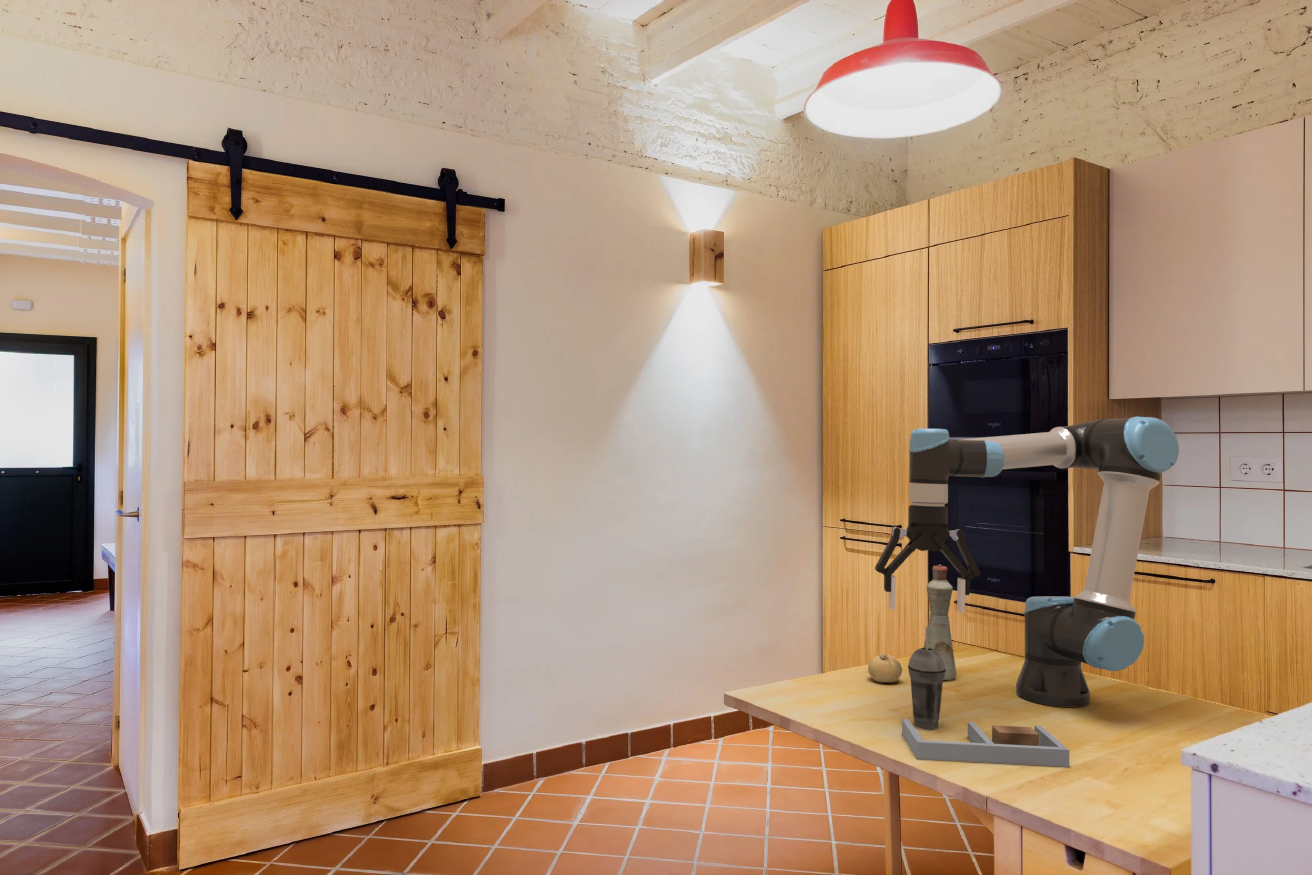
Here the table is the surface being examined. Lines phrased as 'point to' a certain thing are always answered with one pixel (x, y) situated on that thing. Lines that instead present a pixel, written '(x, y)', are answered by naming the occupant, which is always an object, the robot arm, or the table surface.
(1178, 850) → the table surface
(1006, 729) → the walnut bar
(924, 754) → the slot rack
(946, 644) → the bottle
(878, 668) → the onion
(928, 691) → the beverage cup
